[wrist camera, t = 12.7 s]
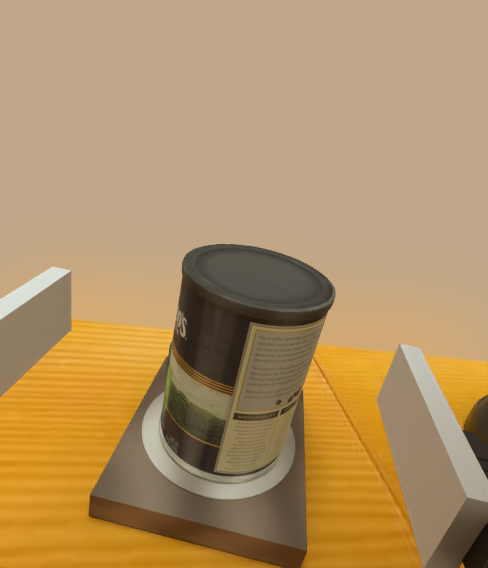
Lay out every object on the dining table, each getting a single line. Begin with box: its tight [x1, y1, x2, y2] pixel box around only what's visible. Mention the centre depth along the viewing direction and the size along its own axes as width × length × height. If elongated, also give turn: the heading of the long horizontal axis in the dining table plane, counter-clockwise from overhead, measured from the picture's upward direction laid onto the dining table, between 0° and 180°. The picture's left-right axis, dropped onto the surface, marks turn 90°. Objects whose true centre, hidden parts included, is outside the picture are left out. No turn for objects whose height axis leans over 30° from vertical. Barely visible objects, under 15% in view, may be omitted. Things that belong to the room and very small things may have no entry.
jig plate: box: [89, 340, 307, 568], centre depth 32 cm, size 14×16×4 cm
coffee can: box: [159, 244, 335, 483], centre depth 29 cm, size 10×10×14 cm
